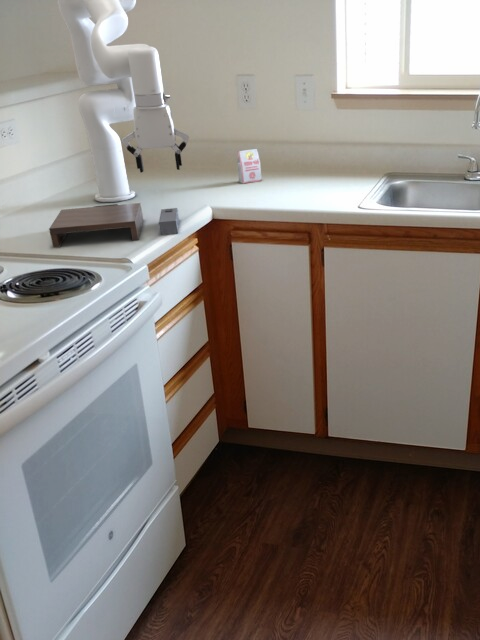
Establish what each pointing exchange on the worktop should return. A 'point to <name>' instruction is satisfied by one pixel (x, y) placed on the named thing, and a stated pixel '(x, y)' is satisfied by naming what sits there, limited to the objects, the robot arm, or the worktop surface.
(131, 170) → the worktop surface
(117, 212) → the shelf
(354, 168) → the worktop surface
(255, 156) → the white paper food bag
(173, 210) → the grey long block
